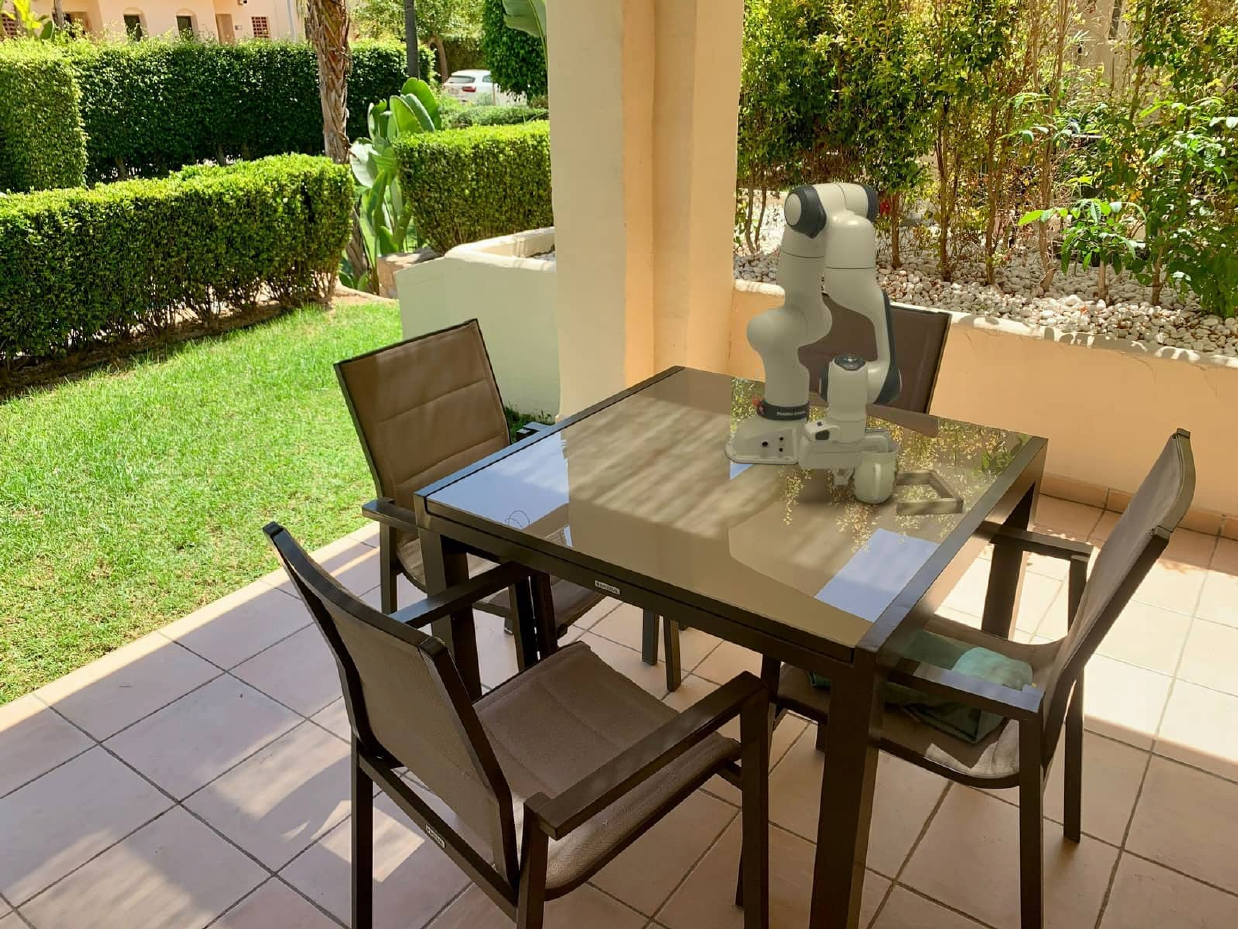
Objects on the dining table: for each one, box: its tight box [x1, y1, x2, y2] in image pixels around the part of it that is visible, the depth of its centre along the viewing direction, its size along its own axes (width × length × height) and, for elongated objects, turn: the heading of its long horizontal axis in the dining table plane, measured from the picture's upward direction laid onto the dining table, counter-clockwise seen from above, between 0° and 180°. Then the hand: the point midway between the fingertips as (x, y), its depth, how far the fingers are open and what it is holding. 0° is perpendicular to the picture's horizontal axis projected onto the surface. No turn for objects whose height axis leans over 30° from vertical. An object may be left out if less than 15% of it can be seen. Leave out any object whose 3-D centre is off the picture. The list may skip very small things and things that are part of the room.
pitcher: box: [849, 438, 901, 504], centre depth 213 cm, size 11×18×14 cm, turn 170°
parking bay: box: [895, 469, 965, 516], centre depth 215 cm, size 14×18×3 cm
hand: (841, 484), depth 213 cm, fingers closed
